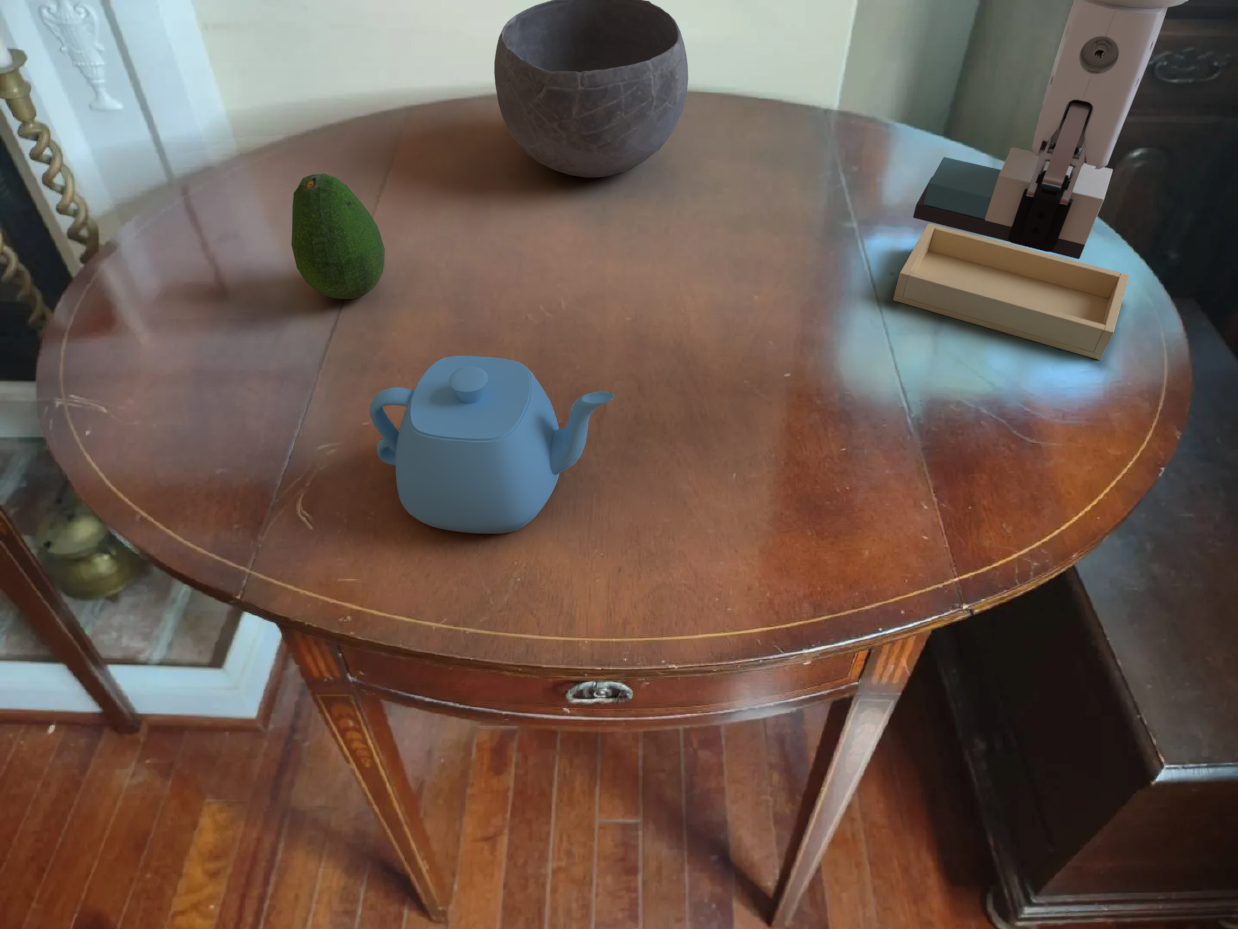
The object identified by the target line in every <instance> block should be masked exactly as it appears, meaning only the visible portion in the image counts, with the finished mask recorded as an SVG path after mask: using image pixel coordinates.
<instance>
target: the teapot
mask: <svg viewBox="0 0 1238 929" xmlns="http://www.w3.org/2000/svg"><path fill="white" fill-rule="evenodd" d="M413 389H414V390H413ZM413 389H411V388H407V387H401V386H400V387H399V386H395V387H389V388H386V389H383V390H381V391H379V392H378V393H377V394H376V395H375V396H374V397H373V399H372V401H371V403H370V407H369V416H370V419H371V422H372V424H373V426H374V427H375V429H376V431H377V433H378V434H379V435H380V436H381V437H382V438H381V439H380V440H379V441H378V442H377V445H376V454H377V457H378V459H379V460H380V461H381V462H383V463H385V464H388V465H390V466H395V480H396V487H397V488H396V489H397V494H398V498H399V500H400V504H401V506H402V507H403V508H404V510H405V511H406V512H407V513H408V514H409V515H410V516H412V517H413V518H414V519H415V520H418V521H420V522H421V523H423V524H425V525H428V526H429V527H433V528H436V529H440V530H446V531H452V532H458V533H467V534H487V535H488V534H489V535H491V534H492V535H493V534H494V535H495V534H507V533H512V532H516V531H519V530H521V529H522V528H524V527H525V526H527V525H528V524H529V523H531V522H532V521H533V520H534V519H535V518H536V517H537V516H538V514H540V512H541V510H542V509H543V508H544V507H545V505H546V504H547V502H548V500H550V498H551V495H552V494H553V492H554V490H555V488H556V485H557V483H558V481H559V477H560V474H561V473H563V472H565V471H567V470H569V469H571V467H573V466H574V465H576V463H577V462H578V460H579V459H580V458H581V456H582V454H583V453H584V449H585V446H586V443H587V438H588V432H589V431H588V430H589V422H590V418H591V416H592V414H593V413H594V411H595V410H596V409H597V408H600V407H601V406H603V405H605V404H607V403H610V402H611V401H612V400H613V399H614V398H615V394H614V393H613V392H611V391H592V392H589V393H584V394H583V395H581V396H579V397H578V398H577V399H575V401H574V402H573V404H572V406H571V408H570V411H569V415H568V416H569V417H568V421H567V425H566V426H564V427H562V428H561V427H560V426H559V422H558V419H557V415H556V412H555V410H554V407H553V404H552V402H551V400H550V397H549V396H548V395H547V392H546V391H545V390H544V388H543V386H542V385H541V383H540V382H539V381H538V379H537V378H536V376H535V375H534V374H533V372H532V371H531V370H530V369H529V368H528V367H527V366H526V365H525V364H523V363H522V362H519V361H518V360H512V359H508V358H502V357H492V356H482V355H481V356H480V355H452V356H445V357H443V358H441V359H439V360H437V361H435V362H434V363H432V364H431V365H430V366H429V367H428V368H427V369H426V370H425V372H424V373H423V374H422V376H421V377H420V378H419V380H418V382H417V384H416V385H415V387H414V388H413ZM386 406H400V407H406V408H405V411H404V414H403V417H402V419H401V423H400V427H399V429H397V427H396V426H395V424H394V423H393V422H392V421H391V419H390V418H389V416H388V415H387V414H386V411H385V409H384V407H386Z"/></svg>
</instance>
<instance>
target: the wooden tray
mask: <svg viewBox="0 0 1238 929" xmlns="http://www.w3.org/2000/svg"><path fill="white" fill-rule="evenodd" d="M1129 279H1130V274H1127V273H1124V272H1120V271H1116V270H1111V269H1108V268H1104V267H1102V266H1101V267H1100V266H1097V265H1093V264H1090V263H1086V262H1081V261H1077V260H1073V259H1069V258H1067V257H1063V256H1058V255H1054V254H1049V253H1047V252H1044V251H1040V250H1036V249H1032V248H1028V247H1024V246H1020V245H1017V244H1013V243H1009V242H1008V243H1007V242H1005V241H1000V240H997V239H993V238H989V237H986V236H982V235H978V234H974V233H970V232H966V231H962V230H959V229H955V228H951V227H947V226H943V225H939V224H936V223H932V222H928V223H927V224H926V227H925V228H924V230H923V231H922V233H921V235H920V236H919V238H918V240H917V242H916V244H915V245H914V247H913V249H912V251H911V252H910V254H909V256H908V258H907V260H906V262H905V263H904V265H903V266H902V268H901V270H900V272H899V274H898V279H897V283H896V286H895V290H894V295H893V298H892V301H894V302H897V303H901V304H904V305H908V306H911V307H915V308H918V309H922V310H925V311H929V312H932V313H936V314H939V315H943V316H945V317H950V318H953V319H957V320H961V321H962V322H967V323H971V324H973V325H977V326H979V327H984V328H987V329H991V330H995V331H998V332H1002V333H1004V334H1009V335H1011V336H1015V337H1019V338H1022V339H1025V340H1028V341H1032V342H1036V343H1039V344H1042V345H1046V346H1050V347H1054V348H1056V349H1059V350H1063V351H1067V352H1070V353H1074V354H1077V355H1081V356H1083V357H1088V358H1091V359H1095V360H1099V361H1101V360H1102V358H1103V357H1104V356H1103V355H1104V354H1105V352H1106V350H1107V347H1108V346H1109V342H1110V341H1111V339H1112V337H1113V335H1114V332H1115V330H1116V325H1117V322H1118V318H1119V315H1120V310H1121V307H1122V303H1123V301H1124V297H1125V293H1126V290H1127V286H1128V282H1129Z"/></svg>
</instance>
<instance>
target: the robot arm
mask: <svg viewBox="0 0 1238 929" xmlns="http://www.w3.org/2000/svg"><path fill="white" fill-rule="evenodd" d="M1186 2H1189V0H1073V2H1072V5H1071V8H1070V11H1069V13H1068V17H1067V20H1066V23H1065V27H1064V30H1063V32H1062V36H1061V39H1060V42H1059V46H1058V49H1057V52H1056V55H1055V58H1054V62H1053V65H1052V67H1051V72H1050V75H1049V78H1048V82H1047V85H1046V89H1045V93H1044V96H1043V100H1042V104H1041V108H1040V110H1039V111H1040V112H1039V116H1038V120H1037V123H1036V127H1035V131H1034V135H1033V140H1032V144H1031V150H1032V152H1034V153H1035V155H1036V156H1038V155H1039V153H1040V155H1039V160H1038V163H1037V166H1036V168H1035V171H1034V174H1033V177H1032V180H1031V183H1030V185H1029V188H1028V189H1025V190H1024V192H1023V195H1022V198H1021V201H1020V204H1019V207H1018V210H1017V213H1016V216H1015V219H1014V222H1013V224H1012V227H1011V230H1010V233H1009V236H1008V240H1009V242H1008V243H1010V244H1012V245H1016V246H1020V247H1024V248H1028V249H1032V250H1036V251H1041V252H1045V253H1052V252H1051V251H1053V250H1054V248H1055V245H1056V243H1057V240H1058V238H1059V235H1060V233H1061V230H1062V227H1063V225H1064V222H1065V220H1066V217H1067V214H1068V212H1069V209H1070V207H1071V204H1072V201H1073V199H1070V196H1071V194H1072V191H1073V188H1074V186H1075V183H1076V181H1077V178H1078V175H1079V173H1080V170H1081V167H1082V166H1083V164H1084V163H1085V162H1086V163H1087V165H1092V166H1096V167H1095V169H1098V170H1099V169H1101V168H1103V167H1105V168H1106V166H1108V164H1109V162H1110V159H1111V156H1112V154H1113V152H1114V149H1115V147H1116V144H1117V141H1118V138H1119V137H1120V134H1121V132H1122V129H1123V126H1124V123H1125V121H1126V118H1127V116H1128V114H1129V111H1130V109H1131V106H1132V104H1133V101H1134V99H1135V97H1136V94H1137V91H1138V89H1139V86H1140V84H1141V81H1142V80H1143V77H1144V74H1145V71H1146V68H1147V67H1148V64H1149V61H1150V58H1151V56H1152V53H1153V51H1154V48H1155V45H1156V43H1157V41H1158V37H1159V34H1160V33H1161V28H1162V26H1163V24H1164V21H1165V20H1164V19H1165V16H1166V15H1167V10H1168V8H1171V7H1176V6H1179V5H1183V4H1184V3H1186ZM1047 161H1049V165H1048V168H1047V170H1044V167H1045V165H1046V162H1047ZM1069 166H1071V167H1073V168H1072V171H1071V173H1070V176H1069V175H1066V173H1067V170H1068V168H1069ZM1068 177H1069V178H1068Z"/></svg>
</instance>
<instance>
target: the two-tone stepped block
mask: <svg viewBox="0 0 1238 929" xmlns="http://www.w3.org/2000/svg"><path fill="white" fill-rule="evenodd" d="M1039 155H1040V153H1039ZM1039 155H1038V156H1036V155H1035V153H1034V152H1033V150H1032V151H1031V150H1027V149H1022V148H1018V147H1011V148H1010V150H1009V152H1008V154H1007V157H1006V159H1005V161H1004V163H1003V166H1002V168H1001V169H999V168H994V167H990V166H986V165H982V164H977V163H973V162H968V161H964V160H960V159H955V158H951V157H946V156H943V157H942V159H941V161H940V163H939V165H938V166H937V168H936V170H935V172H934V174H933V175H932V176H931V177H930V179H929V180H928V182H927V184H926V186H925V188H924V189H923V191H922V193H921V195H920V196H919V198H918V200H917V202H916V204H915V208H914V211H913V215H912V218H913V219H916V220H921V221H924V222H928V223H931V224H935V225H939V226H943V227H947V228H951V229H955V230H959V231H963V232H967V233H971V234H975V235H979V236H983V237H987V238H991V239H995V240H999V241H1000V240H1001V241H1003V242H1008V243H1010V242H1009V240H1008V236H1009V233H1010V230H1011V227H1012V224H1013V222H1014V219H1015V216H1016V213H1017V210H1018V207H1019V204H1020V201H1021V198H1022V195H1023V192H1024V190H1025V189H1028V188H1029V185H1030V183H1031V180H1032V177H1033V174H1034V171H1035V168H1036V166H1037V163H1038V160H1039ZM1048 165H1049V161H1047V162H1046V165H1045V167H1044V170H1047V168H1048ZM1095 167H1096V166H1092V165H1087V163H1085V162H1084V164H1083V166H1082V167H1081V170H1080V173H1079V175H1078V178H1077V181H1076V183H1075V186H1074V188H1073V191H1072V194H1071V196H1070V199H1073V201H1072V204H1071V207H1070V209H1069V212H1068V214H1067V217H1066V220H1065V222H1064V225H1063V227H1062V230H1061V233H1060V235H1059V238H1058V240H1057V243H1056V245H1055V248H1054V250H1053V251H1051V252H1050V253H1052V254H1057V255H1060V256H1064V257H1067V258H1068V257H1069V258H1073V259H1076V260H1079V259H1081V257H1082V254H1083V251H1084V249H1085V247H1086V244H1087V242H1088V239H1089V237H1090V235H1091V233H1092V230H1093V227H1094V225H1095V223H1096V220H1097V218H1098V215H1099V213H1100V211H1101V209H1102V206H1103V203H1104V201H1105V198H1106V194H1107V191H1108V187H1109V184H1110V181H1111V177H1112V174H1113V171H1114V169H1113V168H1110V167H1106V166H1105V167H1103V168H1101V169H1099V170H1098V169H1095ZM1072 168H1073V167H1071V166H1069V168H1068V170H1067V173H1066V175H1069V176H1070V173H1071V171H1072ZM1068 178H1069V177H1068Z"/></svg>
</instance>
